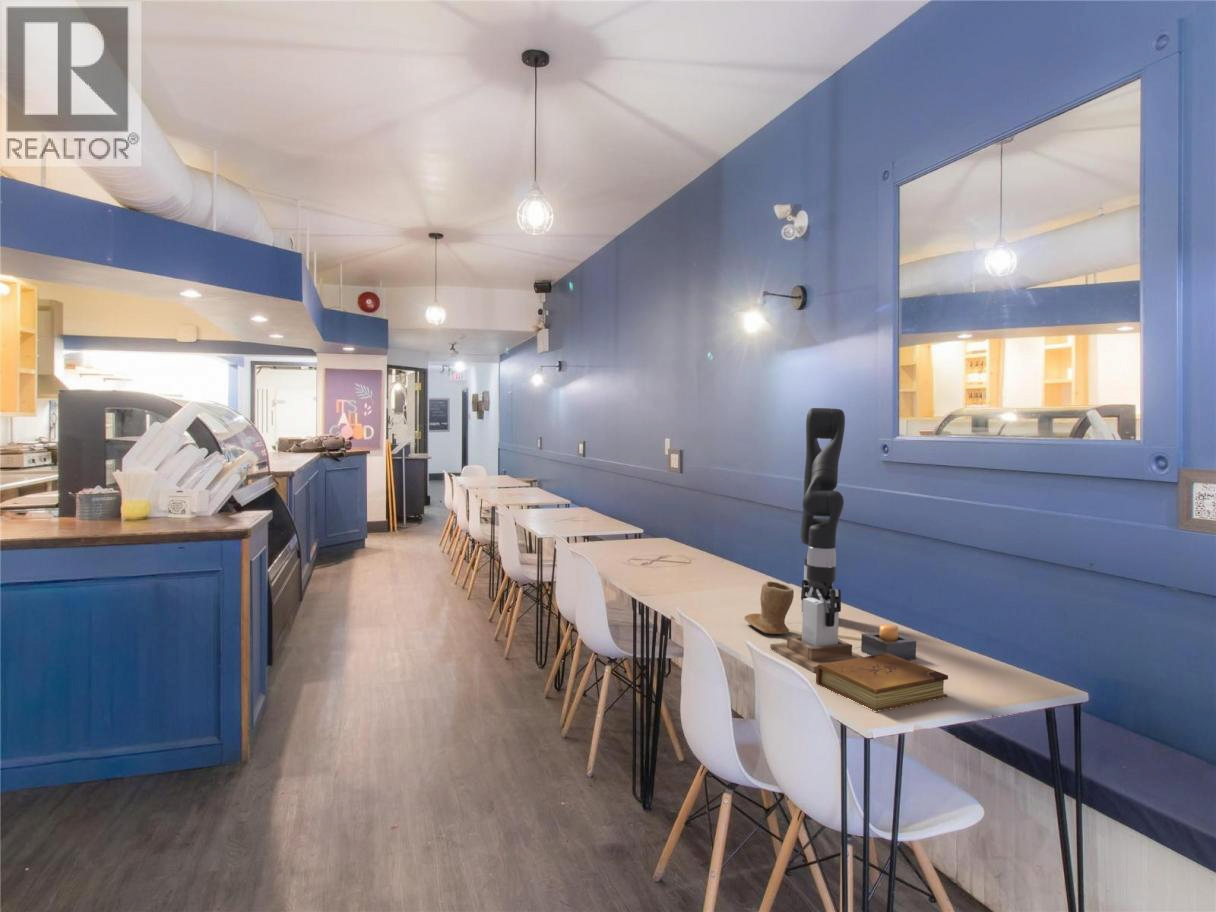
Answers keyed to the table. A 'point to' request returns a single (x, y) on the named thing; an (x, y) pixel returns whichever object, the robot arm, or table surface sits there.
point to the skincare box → (818, 624)
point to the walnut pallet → (813, 652)
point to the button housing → (888, 646)
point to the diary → (881, 681)
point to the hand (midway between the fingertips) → (819, 622)
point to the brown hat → (772, 608)
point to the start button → (888, 632)
